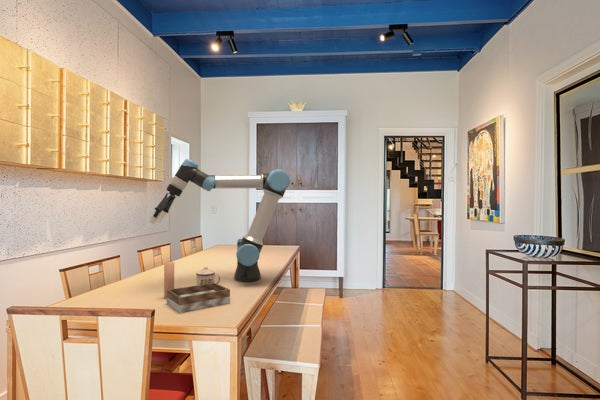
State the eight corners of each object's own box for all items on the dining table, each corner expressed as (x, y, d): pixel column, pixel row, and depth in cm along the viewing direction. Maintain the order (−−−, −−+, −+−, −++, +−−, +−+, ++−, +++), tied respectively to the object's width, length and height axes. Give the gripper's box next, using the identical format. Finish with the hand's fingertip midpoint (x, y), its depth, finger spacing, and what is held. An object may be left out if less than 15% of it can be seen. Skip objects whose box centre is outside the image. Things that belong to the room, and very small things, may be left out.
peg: (172, 295, 164) (172, 261, 164) (175, 297, 160) (175, 263, 160) (162, 297, 161) (162, 262, 161) (165, 299, 157) (165, 264, 158)
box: (214, 295, 165) (214, 282, 165) (229, 303, 152) (229, 289, 152) (166, 303, 151) (166, 289, 151) (179, 313, 138) (179, 298, 139)
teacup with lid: (197, 293, 168) (197, 269, 168) (194, 289, 176) (194, 266, 176) (222, 290, 173) (222, 267, 173) (218, 286, 181) (218, 264, 181)
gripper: (174, 185, 192) (153, 218, 190) (165, 180, 168) (141, 219, 165) (186, 191, 193) (165, 225, 191) (179, 188, 169) (155, 227, 166)
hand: (154, 222), depth 178 cm, fingers open, 13 cm apart
